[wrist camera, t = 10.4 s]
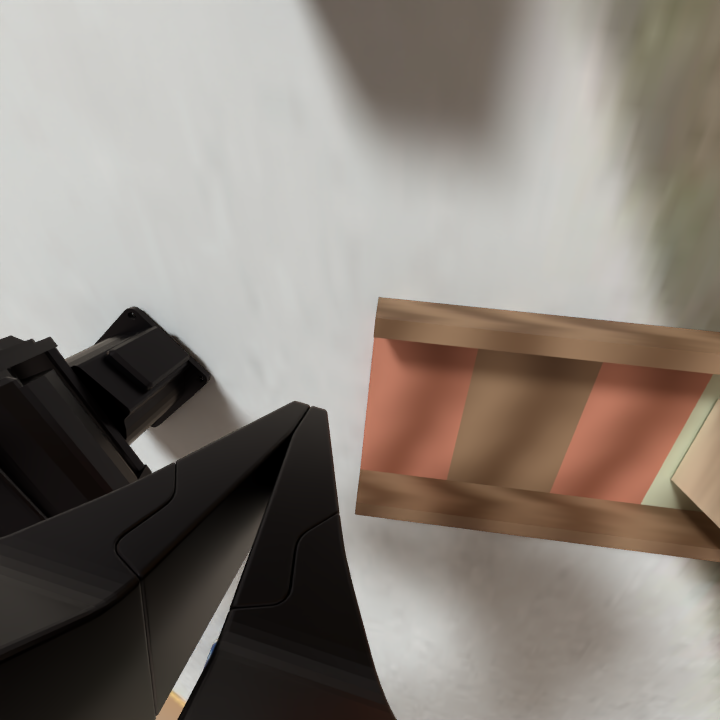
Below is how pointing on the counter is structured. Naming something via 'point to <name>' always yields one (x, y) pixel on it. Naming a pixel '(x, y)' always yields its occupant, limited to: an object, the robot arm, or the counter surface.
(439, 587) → the counter surface
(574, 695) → the counter surface
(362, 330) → the counter surface
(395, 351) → the tray
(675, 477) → the sliding block
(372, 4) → the counter surface
